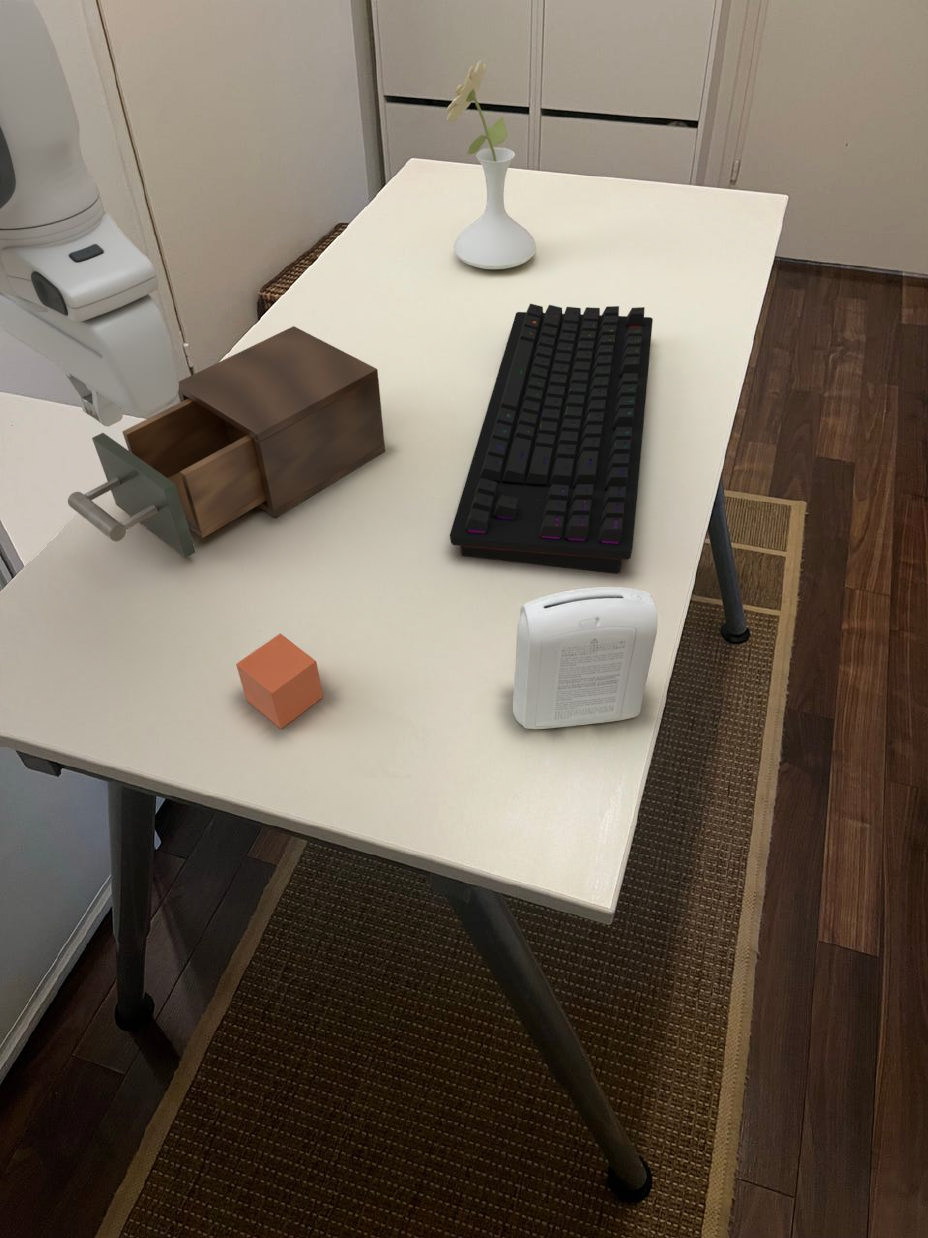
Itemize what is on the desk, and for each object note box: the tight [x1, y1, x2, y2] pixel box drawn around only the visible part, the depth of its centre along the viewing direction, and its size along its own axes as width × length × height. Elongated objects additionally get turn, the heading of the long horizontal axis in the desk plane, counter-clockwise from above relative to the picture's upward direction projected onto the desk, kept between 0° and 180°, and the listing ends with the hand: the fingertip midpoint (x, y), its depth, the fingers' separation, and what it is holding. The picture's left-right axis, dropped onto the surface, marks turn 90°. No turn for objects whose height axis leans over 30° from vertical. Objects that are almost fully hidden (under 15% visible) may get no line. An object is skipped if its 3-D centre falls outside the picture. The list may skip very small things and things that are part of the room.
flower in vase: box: [446, 59, 537, 270], centre depth 119 cm, size 13×11×25 cm
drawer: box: [67, 398, 267, 559], centre depth 87 cm, size 19×12×8 cm, turn 137°
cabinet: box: [177, 325, 386, 519], centre depth 93 cm, size 15×13×10 cm
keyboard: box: [449, 303, 654, 574], centre depth 97 cm, size 42×16×5 cm, turn 169°
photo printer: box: [512, 586, 658, 730], centre depth 69 cm, size 10×4×12 cm, turn 98°
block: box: [235, 633, 324, 730], centre depth 73 cm, size 4×4×4 cm
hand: (104, 416), depth 73 cm, fingers closed
